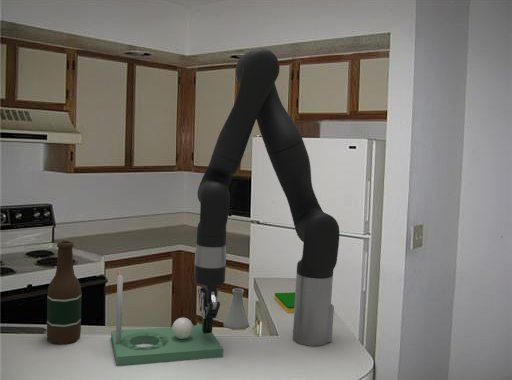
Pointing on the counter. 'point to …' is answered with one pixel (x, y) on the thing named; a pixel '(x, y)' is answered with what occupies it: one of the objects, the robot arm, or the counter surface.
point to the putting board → (159, 341)
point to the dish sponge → (286, 301)
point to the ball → (182, 328)
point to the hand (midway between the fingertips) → (206, 332)
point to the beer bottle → (64, 299)
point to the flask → (236, 312)
